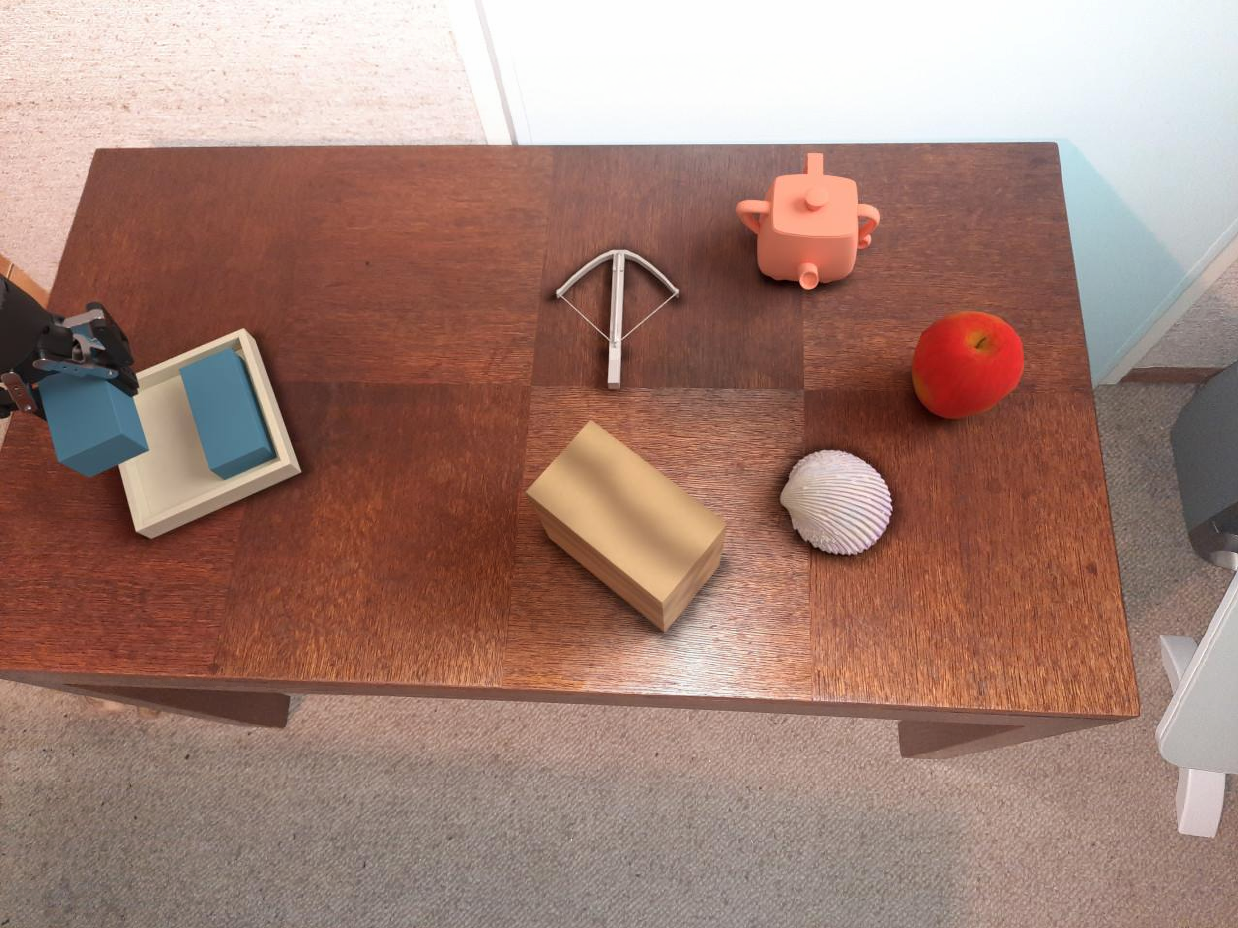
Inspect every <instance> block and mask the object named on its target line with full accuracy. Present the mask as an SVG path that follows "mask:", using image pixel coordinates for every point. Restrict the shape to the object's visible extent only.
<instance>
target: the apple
mask: <svg viewBox="0 0 1238 928" xmlns="http://www.w3.org/2000/svg"><path fill="white" fill-rule="evenodd" d="M1024 368H1025V355H1024V347H1023V341H1022V339H1021V338H1020V336H1019V335H1018V334H1017V332H1016V331H1015V329H1014V328H1013V327H1012V326H1011V325H1010V324H1008V323H1007V322H1006V321H1004V320H1003V319H1001V318H1000V317H999V316H996V315H993V314H989V313H986V312H983V311H975V310H974V311H973V310H961V311H958V312H957V311H956V312H954V313H951V314H948V315H945V316H942V317H941V318H939V319H937V320H935V321H934V322H933V323H932V324H930V325H929V326H928V327H927V328H926V329H924V330H923V331H922V332H921V333H920V336H919V338H918V341H917V344H916V347H915V349H914V352H913V356H912V361H911V376H912V377H911V379H912V384H913V389H914V393H915V395H916V396H917V399H918V400H919V402H920V403H921V404H922V406H924V407H925V408H926V409H927V410H928V411H929V412H930V413H932V414H934V415H936V416H937V417H940V418H942V419H949V420H961V419H965V418H968V417H971V416H975V415H977V414H981V413H985V412H987V411H990V410H991V409H992V408H993V407H995V406H996V405H997V404H998V403H999V402H1000V401H1002V400H1003V399H1004V398H1005V397H1007V396H1008V395H1009V394H1010V393H1011V392H1013V391H1014V390H1015V389H1016V388H1017V386H1018V384H1019V382H1020V380H1021V377H1022V375H1023V373H1024V370H1025V369H1024Z"/></svg>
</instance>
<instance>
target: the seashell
mask: <svg viewBox="0 0 1238 928" xmlns="http://www.w3.org/2000/svg"><path fill="white" fill-rule="evenodd" d="M788 478H789V479H788V482H786V484H785V486H784V487H783V489H782V491H781V493H780V496H779V500H780V504H781V505H782V507H784V508H785V509H786V510H787V512H788V514H789V515H790V518H791V523H792V528H793V530H794V531H796V530H797V531H798V533H799V535H800V537H801V539H802V540H803V541H804V542H805V543H807V542H809V543H811V545H812V547H814V548H815V549H816V548H819V549H820V550H821V552H826V553H828V554H831V553H832V554H834V555H836V556H837V555H838V554H840V555H842V556H844V555H847V556H851V555H854V556H857V555H858V554H863V552H864V550H866V551H867V550H869V549H870V547H871V546H873V545H875V544H876V543H877V540H879V539H881V537H882V535H883V534H884V532H886V530H887V525H889V524H890V516H892V513H891V512H893V506H892V505H891V503H892V501H893V500H892V499H891V497H890V496H891V493H890V491H889V487H888V485H887V484H886V482H885V480H884V479H883V478H882V475H881V474H880V473H879V472H877V470H876V469H875V468H873V467H872V465H871V464H869V463H866V461H864V459H861V458H859V457H858V456H855V455H853V454H852V453H851V452H846V451H844V450H843V451H841V450H840V449H837V450H834V449H830V450H829V449H828V450H827V449H824V450H823V449H822V450H820V451H814V452H813V453H809V454H808V455H806V456H803V458H802V459H798V462H797V463H796V464H794V466H793V467H792V470H791V472H790V473H789V476H788Z"/></svg>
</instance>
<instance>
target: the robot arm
mask: <svg viewBox="0 0 1238 928" xmlns="http://www.w3.org/2000/svg"><path fill="white" fill-rule="evenodd" d="M84 308H85V311H86V312H83V313H80V314H77V315H73V316H69V317H66V316H64V315H62V314H60V313H56V312H51V311H49V310H47V309H45V308H44V307H43V306H42V304H40V303H39V302H38V301H37V299H35V298H34V297H33V296H32V295H31V294H29V293H28V292H26V291H25V290H24V289H22V288H21V287H20V286H19V285H17V284H16V283H15V282H13V281H12V280H11V279H9V278H8V277H6V276H5V275H4V274H2V273H1V272H0V384H3V386H5V388H4V387H3V386H0V420H4V419H7V418H10V417H11V415H12V412H17V411H20V412H21V413H23V414H32V415H34V416H36V417H38V418H39V419H41V420H43V421H44V422H46V423H48V422H47V418H46V414H45V411H44V407H43V403H42V399H41V396H40V392H39V388H38V386H36V387H33V385H34V384H37V382H39V381H41V380H42V379H44V378H45V377H47V376H50V375H54V374H58V373H60V372H63V373H67V374H71V375H75V376H79V377H84V376H86V375H87V374H90V375H94V376H98V377H102V378H106V381H107V382H109V383H110V384H112V385H113V386H115V387H116V388H117V389H119V390H120V391H122V392H123V393H125V394H126V395H128V396H129V397H133V396H135V395H138V390H137V388H140V387H139V383H138V380H137V376H136V373H137V372H136V371H135V370H134V369H132V368H131V366H133V365H134V364H135V359H134V356H133V355H132V351H131V348H130V342H129V338H128V336H127V335H126V333H125V332H124V331H123V330H122V328H121V327H120V326H119V324H118V323H117V322H116V320H114V318H113V317H112V316H111V314H110V313H109V312H108V310H107V309H106V307H105V306H104V305H103V304H102V303H101V302H99V301H91V302H88V303H87V304H85V307H84ZM78 334H83V335H85V336H86V337H89V338H91V340H92V342H98V341H99V342H100V343H101V344H102V345H103V346H101V345H97V344H94V343H91V342H89V341H88V340H87V339H86V338H85V337H84V336H82V335H78ZM72 357H73V359H72ZM92 358H96V359H97V361H98V362H96V361H94V360H93V359H92Z"/></svg>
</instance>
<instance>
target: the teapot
mask: <svg viewBox="0 0 1238 928" xmlns="http://www.w3.org/2000/svg"><path fill="white" fill-rule="evenodd" d="M735 214H736V216H737V218H738V219H739V221H740V222H741V223H742V224H743V225H744V226H746V227H747V228H748V229H749V230H750V231H752V232H753V233H754V234H756V235H757V241H756V249H757V250H756V253H757V264H758V268H759V270H760V271H761V273H762V274H763V275H765V276H767V277H770V278H772V279H773V280H776V281H783V280H786V281H792V282H799V285H800V286H801V288H803V289H804V290H812V289H815V288H816V287H817V285H818V284H819V283H823V284H828V283H830V282H835V281H840V280H842V279H844V278H846V277H848V276H849V275H850V274H851V273H852V272H853V269H854V266H855V263H856V259H857V251H858V250H863V249H866V248H868V247H869V246H870V244H871V243H872V237H871V234H872V233H873V232H874V231H875V230H876V228H878V226H879V224H880V220H881V216H880V212H879V210H878V209H877V208H876V207H874V206H873V205H870V204H866V203H859V199H858V187H857V183H856V181H855V180H853V179H851V178H846V177H842V176H837V175H827V174H824V153H819V152H808V153H807V154H806V159H805V162H804V167H803V171H802V173H800V174H799V173H798V174H796V173H795V174H784V175H780V176H778V177H777V176H776V178H775V179H774V180H773V181H772V182H771V185H770V186H769V188H768V190H767V191H766V194H765V197H764V198H763V200H757V199H746V200H742V201H739V202H738V203H737V204H736V206H735ZM753 214H759V220H757V219H756V218H755V216H754V215H753ZM859 217H863V218H868V219H870V220H868V221H867V222H866V223H864V224H863V225H862V226H861V227H860V220H859V219H860V218H859Z"/></svg>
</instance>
